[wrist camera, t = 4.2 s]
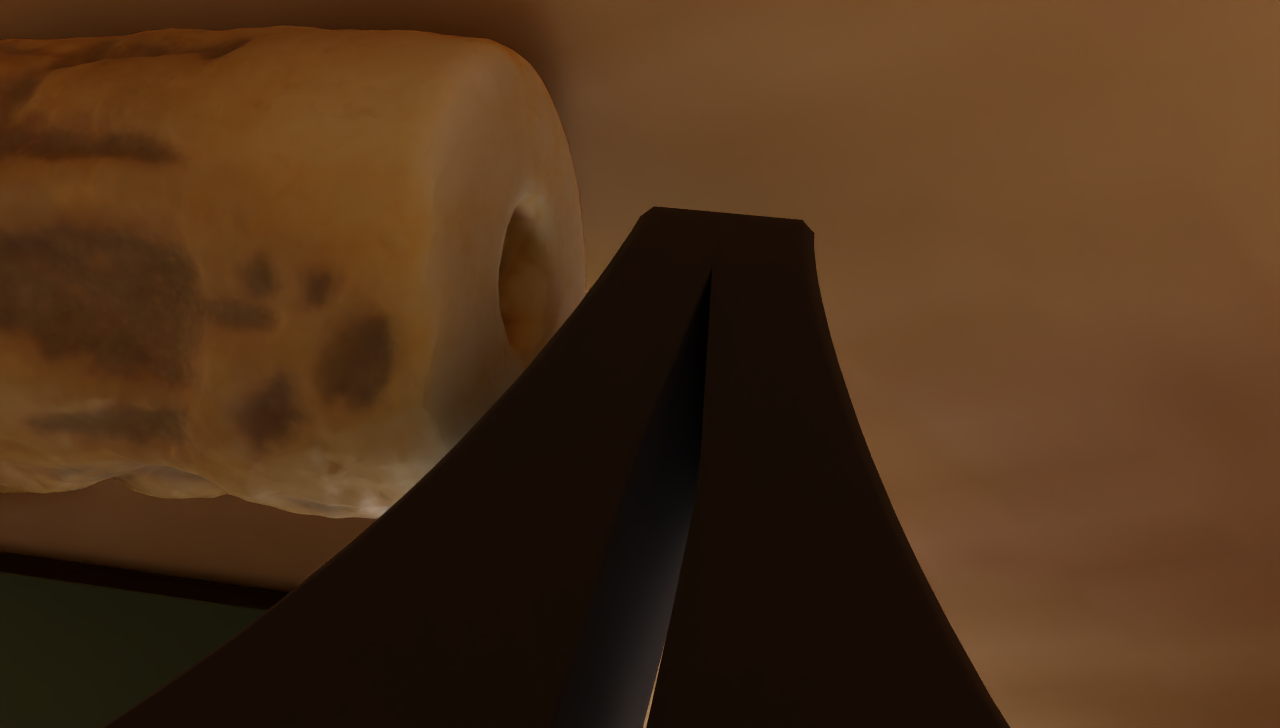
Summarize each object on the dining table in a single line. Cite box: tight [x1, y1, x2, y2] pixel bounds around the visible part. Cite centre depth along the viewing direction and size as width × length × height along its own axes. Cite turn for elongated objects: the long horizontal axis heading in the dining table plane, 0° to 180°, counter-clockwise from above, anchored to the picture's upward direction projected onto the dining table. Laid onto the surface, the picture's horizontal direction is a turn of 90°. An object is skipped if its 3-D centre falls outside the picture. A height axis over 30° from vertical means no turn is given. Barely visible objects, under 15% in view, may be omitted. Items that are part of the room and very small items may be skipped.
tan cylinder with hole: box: [0, 25, 586, 520], centre depth 10 cm, size 8×4×4 cm, turn 98°
